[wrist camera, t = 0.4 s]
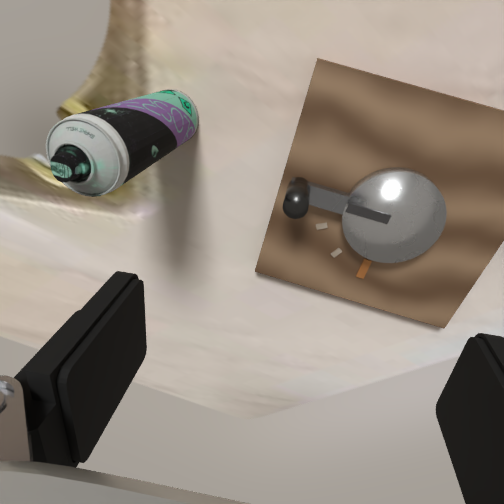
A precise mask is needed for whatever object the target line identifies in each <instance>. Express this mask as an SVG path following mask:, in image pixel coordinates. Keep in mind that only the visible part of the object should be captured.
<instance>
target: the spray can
mask: <svg viewBox="0 0 504 504" xmlns="http://www.w3.org/2000/svg"><path fill="white" fill-rule="evenodd" d="M198 122H199V118H198V111H197V109H196V106H195V104H194V103H193V101H192V100H191V99H190V98H189V97H188V96H187V95H186V94H184V93H183V92H181V91H178V90H171V89H170V90H163V91H160V92H156V93H152V94H149V95H145V96H141V97H138V98H134V99H130V100H127V101H123V102H119V103H115V104H112V105H108V106H104V107H101V108H97V109H93V110H90V111H86V112H82V113H79V114H75V115H71V116H69V117H67V118H65V119H63V120H62V121H59V122H58V123H57V124H55V125H54V126H53V127H52V129H51V130H50V132H49V134H48V136H47V141H46V153H47V158H48V161H49V164H50V166H51V170H52V173H53V175H54V177H55V178H56V179H57V180H58V181H60V182H62V183H63V184H64V185H65V186H67V187H68V188H70V189H71V190H72V191H74V192H76V193H78V194H81V195H85V196H91V197H94V196H101V195H104V194H106V193H109V192H112V191H113V190H115V189H117V188H118V187H120V186H121V185H123V184H124V183H126V182H127V181H129V180H130V179H131V178H133V177H134V176H136V175H137V174H139V173H140V172H142V171H143V170H145V169H146V168H148V167H149V166H151V165H152V164H153V163H155V162H156V161H158V160H159V159H161V158H162V157H164V156H165V155H167V154H168V153H170V152H171V151H173V150H174V149H176V148H177V147H178V146H180V145H181V144H183V143H184V142H186V141H187V140H189V139H190V138H191V137H192V136H193V135H194V133H195V132H196V130H197V127H198Z"/></svg>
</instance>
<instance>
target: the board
mask: <svg viewBox="0 0 504 504" xmlns="http://www.w3.org/2000/svg"><path fill="white" fill-rule="evenodd" d="M391 167H402V168H408V169H412V170H415V171H418V172H420V173H422V174H424V175H425V176H426V177H428V178H429V179H430V180H431V181H432V182H433V183H434V185H435V186H436V187H437V188H438V190H439V191H440V192H441V194H442V196H443V198H444V201H445V204H446V210H447V217H446V223H445V226H444V229H443V231H442V233H441V235H440V237H439V238H438V240H437V241H436V242H435V243H434V244H433V245H432V246H431V247H430V248H429V249H428V250H427V251H425V252H424V253H422V254H421V255H419V256H417V257H415V258H413V259H410V260H407V261H403V262H398V263H381V262H376V261H372V260H369V259H367V258H365V257H363V256H361V255H360V254H358V253H357V252H356V251H355V250H354V249H353V248H352V247H351V246H350V245H349V243H348V241H347V240H346V237H345V235H344V232H343V226H342V214H339V213H335V212H332V211H329V210H325V209H322V208H318V207H315V206H312V205H309V207H308V212H307V213H306V215H305V216H304V217H302V218H299V219H292V218H289V217H288V216H287V215H286V214H285V213H284V211H283V202H284V198H285V194H286V191H287V187H288V184H289V182H290V181H291V180H292V177H302V178H305V179H306V180H307V181H309V182H313V183H316V184H319V185H323V186H326V187H330V188H333V189H337V190H340V191H343V192H347V193H349V192H350V190H351V189H352V188H353V186H354V185H355V184H356V183H357V182H358V181H360V180H361V179H362V178H364V177H365V176H367V175H369V174H370V173H373V172H375V171H377V170H381V169H384V168H391ZM503 241H504V111H503V110H500V109H496V108H493V107H489V106H486V105H482V104H478V103H475V102H471V101H468V100H464V99H461V98H457V97H454V96H450V95H447V94H443V93H439V92H436V91H432V90H429V89H425V88H422V87H418V86H415V85H411V84H408V83H404V82H400V81H397V80H393V79H390V78H386V77H383V76H379V75H376V74H372V73H369V72H365V71H361V70H358V69H354V68H351V67H347V66H344V65H340V64H337V63H333V62H330V61H326V60H323V59H319V58H317V62H316V65H315V68H314V72H313V75H312V79H311V82H310V85H309V89H308V92H307V96H306V99H305V102H304V106H303V109H302V113H301V116H300V119H299V123H298V126H297V130H296V133H295V136H294V140H293V143H292V147H291V150H290V153H289V157H288V160H287V164H286V167H285V170H284V174H283V177H282V180H281V184H280V187H279V191H278V194H277V197H276V201H275V204H274V208H273V211H272V214H271V218H270V221H269V225H268V228H267V231H266V235H265V238H264V242H263V245H262V248H261V252H260V255H259V259H258V262H257V265H256V269H255V272H258V273H262V274H265V275H268V276H272V277H275V278H278V279H282V280H285V281H288V282H291V283H295V284H298V285H301V286H305V287H308V288H311V289H315V290H318V291H321V292H325V293H328V294H331V295H335V296H338V297H341V298H345V299H348V300H351V301H355V302H358V303H361V304H364V305H368V306H371V307H374V308H378V309H381V310H384V311H388V312H391V313H394V314H398V315H401V316H404V317H408V318H411V319H414V320H418V321H421V322H424V323H428V324H431V325H434V326H438V327H441V328H445V327H446V325H447V324H448V322H449V321H450V319H451V318H452V316H453V315H454V313H455V312H456V310H457V309H458V307H459V306H460V304H461V303H462V302H463V300H464V299H465V297H466V296H467V294H468V293H469V291H470V290H471V288H472V287H473V285H474V284H475V282H476V281H477V279H478V278H479V276H480V275H481V273H482V272H483V270H484V269H485V267H486V266H487V265H488V263H489V262H490V260H491V259H492V257H493V256H494V254H495V253H496V251H497V250H498V248H499V247H500V245H501V244H502V242H503Z"/></svg>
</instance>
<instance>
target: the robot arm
mask: <svg viewBox="0 0 504 504" xmlns="http://www.w3.org/2000/svg"><path fill="white" fill-rule="evenodd" d="M146 350H147V345H146V324H145V303H144V284H143V281H142V280H139V279H138V276H137V275H136V274H132V273H126V272H120V271H117V272H115V273H114V274H113V275H112V276H111V277H110V279H109V280H108V281H107V282H106V283H105V284H104V285H103V286H102V287H101V288H100V289H99V290H98V292H97V293H96V294H95V295H94V296H93V297H92V298H91V299H90V300H89V301H88V302H87V303H86V305H85V306H84V307H83V308H82V309H81V310H78V311H77V312H75V313H74V314H73V315H72V316H71V317H70V318H69V319H68V320H67V321H66V323H65V324H64V325H63V326H62V327H61V328H60V329H59V330H58V331H57V332H56V333H55V334H54V335H53V336H52V337H51V339H50V340H49V341H48V342H47V343H46V344H45V345H44V346H43V347H42V348H41V349H40V350H39V352H37V354H36V355H35V356H34V357H33V358H32V359H31V360H30V361H29V362H28V363H27V364H26V366H24V368H22V370H21V371H20V372H19V373H18V374H17V375H16V376H15V377H14V378H12V377H9V376H5V375H4V376H3V375H0V504H249V503H244V502H239V501H235V500H230V499H226V498H221V497H216V496H211V495H207V494H202V493H197V492H193V491H188V490H183V489H179V488H174V487H169V486H165V485H160V484H155V483H151V482H146V481H141V480H137V479H132V478H127V477H121V476H116V475H111V474H106V473H101V472H96V471H91V470H85V469H80V468H76V467H77V465H78V463H79V462H81V463H84V462H85V461H86V460H87V459H88V458H89V456H90V454H91V452H92V450H93V449H94V447H95V445H96V444H97V442H98V440H99V438H100V436H101V435H102V433H103V431H104V429H105V428H106V426H107V424H108V422H109V421H110V419H111V417H112V415H113V413H114V412H115V410H116V408H117V406H118V405H119V403H120V401H121V399H122V398H123V396H124V394H125V392H126V390H127V389H128V387H129V385H130V383H131V382H132V380H133V378H134V376H135V375H136V373H137V371H138V369H139V367H140V366H141V364H142V362H143V360H144V358H145V355H146ZM436 415H437V419H438V422H439V425H440V428H441V431H442V434H443V437H444V440H445V443H446V446H447V449H448V452H449V455H450V458H451V461H452V464H453V467H454V470H455V473H456V476H457V479H458V482H459V485H460V488H461V491H462V494H463V497H464V500H465V503H466V504H504V338H503V337H501V336H495V335H489V334H483V333H478V334H477V335H476V336H475V337H470V338H469V339H468V341H467V343H466V345H465V347H464V349H463V351H462V353H461V355H460V357H459V359H458V361H457V363H456V365H455V367H454V369H453V371H452V373H451V375H450V377H449V379H448V381H447V383H446V385H445V387H444V389H443V391H442V394H441V395H440V397H439V399H438V402H437V404H436Z"/></svg>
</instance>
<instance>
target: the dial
mask: <svg viewBox="0 0 504 504" xmlns="http://www.w3.org/2000/svg"><path fill="white" fill-rule="evenodd" d="M309 205H312V206H315V207H318V208H322V209H325V210H329V211H332V212H335V213H339V214H342V226H343V232H344V235H345V237H346V240H347V241H348V243H349V245H350V246H351V247H352V248H353V249H354V250H355V251H356V252H357V253H358V254H360V255H361V256H363V257H365V258H367V259H369V260H372V261H376V262H381V263H398V262H403V261H407V260H410V259H413V258H415V257H417V256H419V255H421V254H422V253H424V252H425V251H427V250H428V249H429V248H430V247H431V246H432V245H433V244H434V243H435V242H436V241H437V240H438V238H439V237H440V235H441V233H442V231H443V229H444V226H445V223H446V217H447V210H446V204H445V201H444V198H443V196H442V194H441V192H440V191H439V190H438V188H437V187H436V186H435V185H434V183H433V182H432V181H431V180H430V179H429V178H428V177H426V176H425V175H424V174H422V173H420V172H418V171H415V170H412V169H408V168H402V167H391V168H384V169H381V170H377V171H375V172H373V173H370V174H369V175H367V176H365V177H364V178H362V179H361V180H360V181H358V182H357V183H356V184H355V185H354V186H353V188H352V189H351V190H350V192H349V193H347V192H343V191H340V190H337V189H333V188H330V187H326V186H323V185H319V184H316V183H313V182H309V181H307V180H306V179H305V178H302V177H292V180H291V181H290V182H289V184H288V187H287V191H286V194H285V198H284V202H283V211H284V213H285V214H286V215H287V216H288V217H289V218H292V219H299V218H302V217H304V216H305V215H306V213H307V212H308V207H309Z"/></svg>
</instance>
